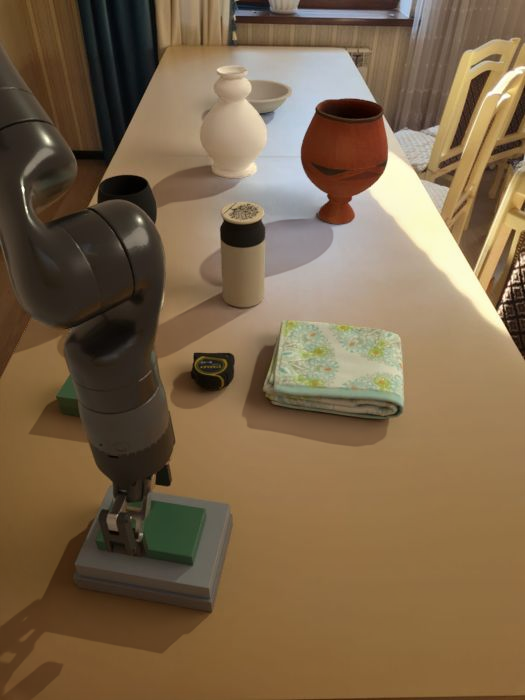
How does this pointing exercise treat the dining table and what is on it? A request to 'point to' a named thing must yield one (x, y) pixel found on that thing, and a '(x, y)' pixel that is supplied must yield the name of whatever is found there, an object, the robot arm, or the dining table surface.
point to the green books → (68, 399)
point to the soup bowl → (267, 95)
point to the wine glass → (129, 192)
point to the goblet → (344, 153)
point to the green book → (169, 531)
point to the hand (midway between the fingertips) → (150, 515)
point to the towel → (337, 370)
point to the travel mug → (242, 254)
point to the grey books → (160, 562)
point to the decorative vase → (233, 126)
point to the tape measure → (213, 370)
